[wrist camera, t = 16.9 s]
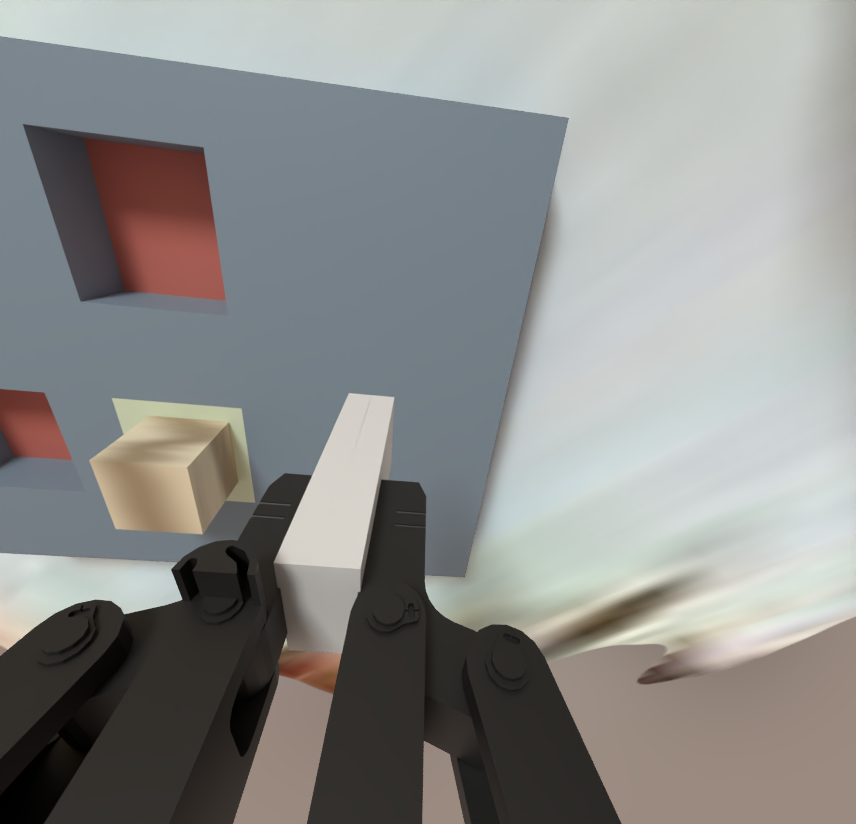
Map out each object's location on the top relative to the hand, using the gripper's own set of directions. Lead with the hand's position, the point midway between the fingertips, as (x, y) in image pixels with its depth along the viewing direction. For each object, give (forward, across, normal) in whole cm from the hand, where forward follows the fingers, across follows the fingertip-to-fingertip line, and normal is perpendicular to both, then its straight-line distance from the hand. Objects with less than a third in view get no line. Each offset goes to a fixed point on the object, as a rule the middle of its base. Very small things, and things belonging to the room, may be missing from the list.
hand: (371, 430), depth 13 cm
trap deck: (+14, +12, +5) cm, 19 cm away
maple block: (+10, +13, +9) cm, 19 cm away
